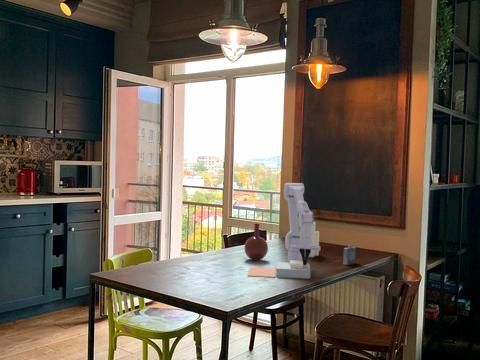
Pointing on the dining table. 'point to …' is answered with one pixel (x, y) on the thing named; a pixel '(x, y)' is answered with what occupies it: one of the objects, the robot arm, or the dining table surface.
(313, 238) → the white tall block
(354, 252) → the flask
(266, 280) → the dining table surface
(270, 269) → the mat
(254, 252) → the round-bottom flask
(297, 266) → the tile
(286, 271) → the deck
